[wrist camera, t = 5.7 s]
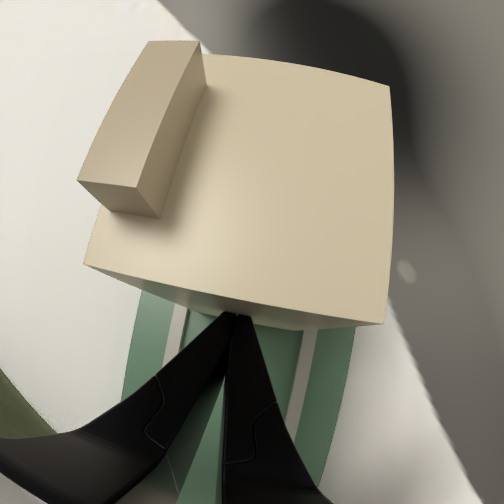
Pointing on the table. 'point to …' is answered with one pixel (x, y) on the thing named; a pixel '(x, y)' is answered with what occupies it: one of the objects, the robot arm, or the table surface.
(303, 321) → the plug
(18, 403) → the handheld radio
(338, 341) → the board
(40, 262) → the table surface
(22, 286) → the table surface
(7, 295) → the table surface
